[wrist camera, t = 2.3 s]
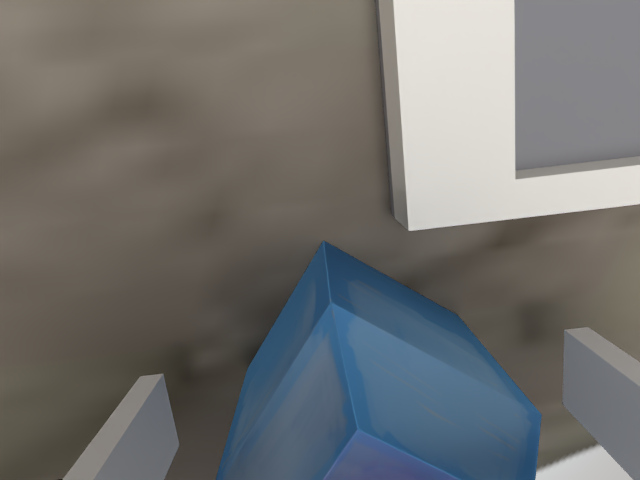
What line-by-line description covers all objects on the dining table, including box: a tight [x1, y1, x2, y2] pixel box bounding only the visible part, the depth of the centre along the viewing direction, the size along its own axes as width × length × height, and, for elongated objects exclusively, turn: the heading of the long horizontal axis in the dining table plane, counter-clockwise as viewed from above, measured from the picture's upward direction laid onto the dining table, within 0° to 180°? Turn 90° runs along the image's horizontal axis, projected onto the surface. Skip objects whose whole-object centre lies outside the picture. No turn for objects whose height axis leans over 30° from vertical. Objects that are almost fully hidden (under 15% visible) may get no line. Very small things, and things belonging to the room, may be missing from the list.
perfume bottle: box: [216, 241, 542, 480], centre depth 11 cm, size 6×6×12 cm
